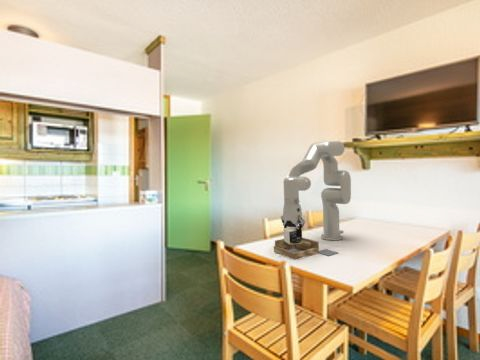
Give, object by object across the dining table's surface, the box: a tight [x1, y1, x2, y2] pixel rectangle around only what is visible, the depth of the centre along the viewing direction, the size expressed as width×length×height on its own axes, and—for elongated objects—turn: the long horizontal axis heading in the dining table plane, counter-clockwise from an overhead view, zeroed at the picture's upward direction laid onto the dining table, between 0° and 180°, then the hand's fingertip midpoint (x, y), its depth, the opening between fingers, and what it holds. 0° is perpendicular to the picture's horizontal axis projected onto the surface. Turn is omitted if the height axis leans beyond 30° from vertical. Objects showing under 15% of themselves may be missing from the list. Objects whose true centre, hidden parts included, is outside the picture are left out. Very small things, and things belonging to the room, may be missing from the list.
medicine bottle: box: [283, 220, 303, 245], centre depth 139 cm, size 7×7×12 cm
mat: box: [318, 248, 340, 257], centre depth 139 cm, size 8×8×1 cm
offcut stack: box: [295, 240, 312, 252], centre depth 144 cm, size 4×9×5 cm, turn 32°
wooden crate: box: [273, 237, 320, 261], centre depth 140 cm, size 17×16×6 cm
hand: (292, 234), depth 139 cm, fingers closed on medicine bottle, 8 cm apart
